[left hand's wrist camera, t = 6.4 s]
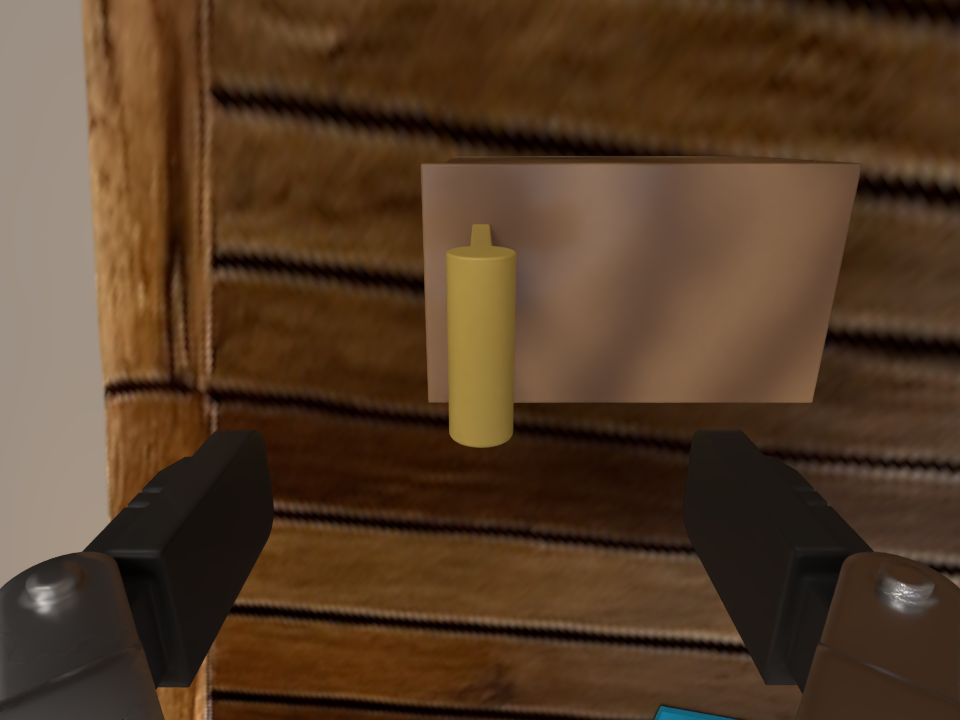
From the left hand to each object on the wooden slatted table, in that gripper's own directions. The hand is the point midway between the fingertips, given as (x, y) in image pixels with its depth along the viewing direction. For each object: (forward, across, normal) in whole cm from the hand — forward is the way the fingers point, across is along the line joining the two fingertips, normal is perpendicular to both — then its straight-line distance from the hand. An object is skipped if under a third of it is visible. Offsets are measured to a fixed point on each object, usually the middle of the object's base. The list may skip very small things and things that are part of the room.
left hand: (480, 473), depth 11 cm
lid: (+15, +6, 0) cm, 16 cm away
